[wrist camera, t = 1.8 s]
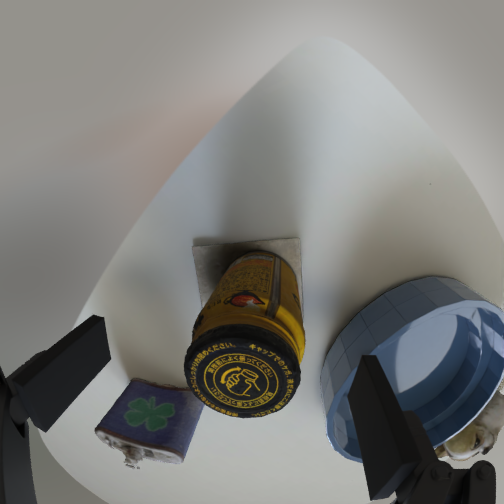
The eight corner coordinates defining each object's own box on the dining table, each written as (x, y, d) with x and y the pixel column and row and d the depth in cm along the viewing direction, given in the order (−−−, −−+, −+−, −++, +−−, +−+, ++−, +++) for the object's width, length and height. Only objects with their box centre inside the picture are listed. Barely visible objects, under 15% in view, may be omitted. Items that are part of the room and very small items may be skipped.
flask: (205, 389, 26) (174, 470, 16) (208, 407, 27) (181, 485, 16) (128, 375, 27) (80, 438, 17) (133, 393, 28) (92, 456, 17)
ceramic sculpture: (523, 438, 15) (433, 493, 19) (502, 403, 23) (422, 452, 27) (534, 400, 14) (426, 472, 18) (504, 362, 22) (411, 421, 26)
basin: (344, 264, 21) (364, 292, 16) (501, 281, 20) (535, 302, 14) (302, 427, 26) (304, 468, 20) (441, 418, 25) (456, 448, 19)
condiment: (303, 321, 23) (315, 429, 11) (206, 326, 24) (155, 423, 12) (299, 237, 21) (318, 298, 10) (193, 245, 22) (112, 305, 11)
